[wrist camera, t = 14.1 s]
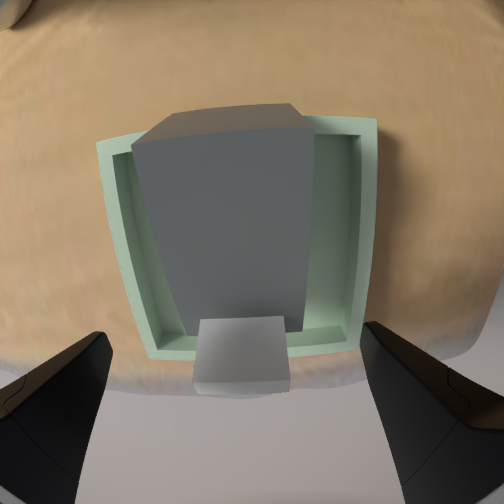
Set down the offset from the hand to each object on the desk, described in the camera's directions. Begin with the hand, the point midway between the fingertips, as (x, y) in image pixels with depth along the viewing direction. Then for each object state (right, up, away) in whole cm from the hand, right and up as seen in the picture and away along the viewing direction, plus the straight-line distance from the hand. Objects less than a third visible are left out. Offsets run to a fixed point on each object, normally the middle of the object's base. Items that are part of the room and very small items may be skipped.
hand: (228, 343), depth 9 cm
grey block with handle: (0, +6, +7) cm, 9 cm away
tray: (0, +4, +11) cm, 11 cm away
